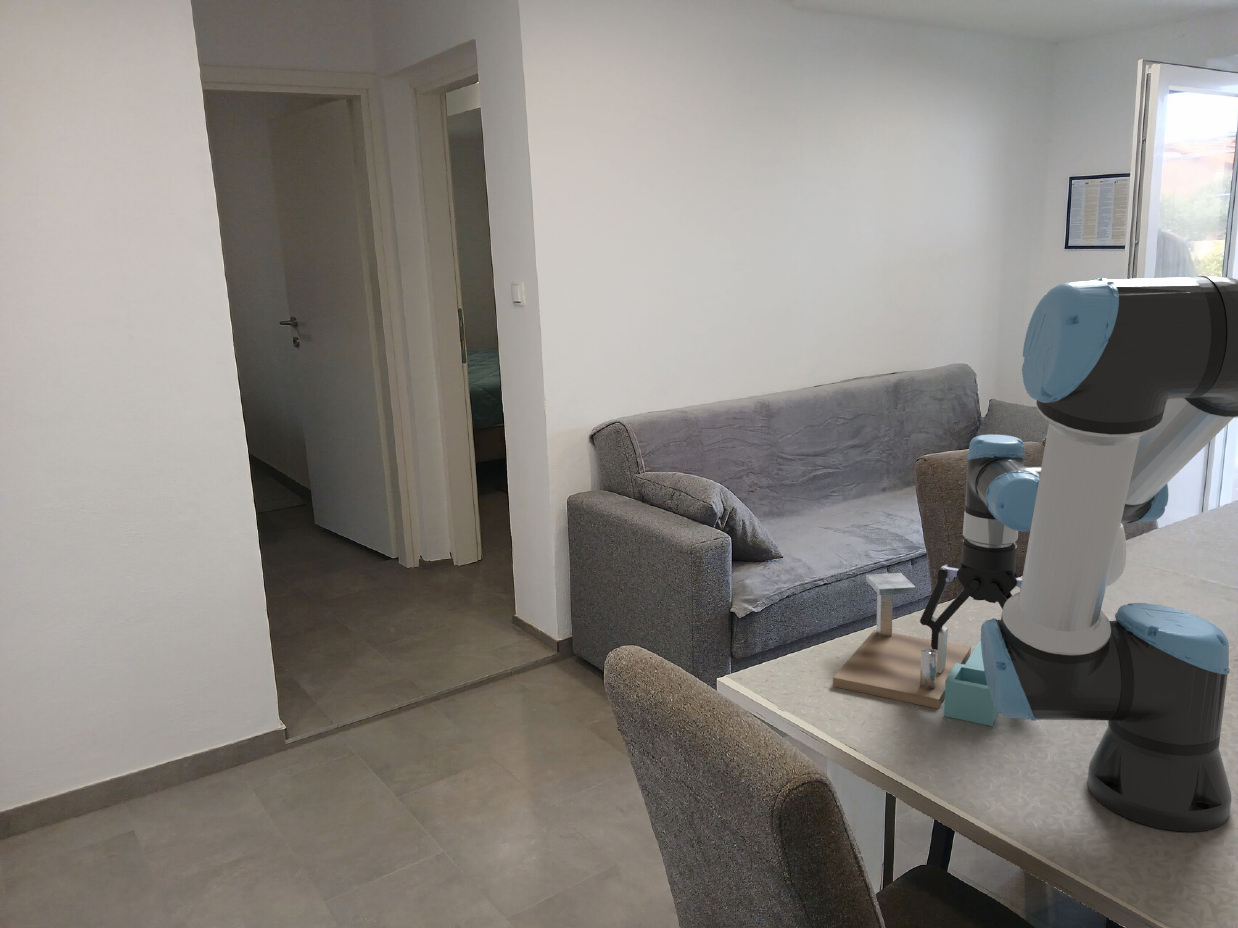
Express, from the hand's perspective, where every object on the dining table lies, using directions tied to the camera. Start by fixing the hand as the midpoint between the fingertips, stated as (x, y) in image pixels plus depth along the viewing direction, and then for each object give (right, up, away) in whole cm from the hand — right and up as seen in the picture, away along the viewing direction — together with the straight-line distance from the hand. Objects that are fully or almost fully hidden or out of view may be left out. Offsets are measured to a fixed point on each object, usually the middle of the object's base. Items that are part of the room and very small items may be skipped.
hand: (979, 677), depth 146 cm
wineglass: (+24, +2, +14) cm, 28 cm away
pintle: (-8, -2, -2) cm, 9 cm away
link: (0, -2, -1) cm, 2 cm away
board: (-9, 0, +7) cm, 12 cm away
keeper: (-10, +1, +16) cm, 18 cm away
